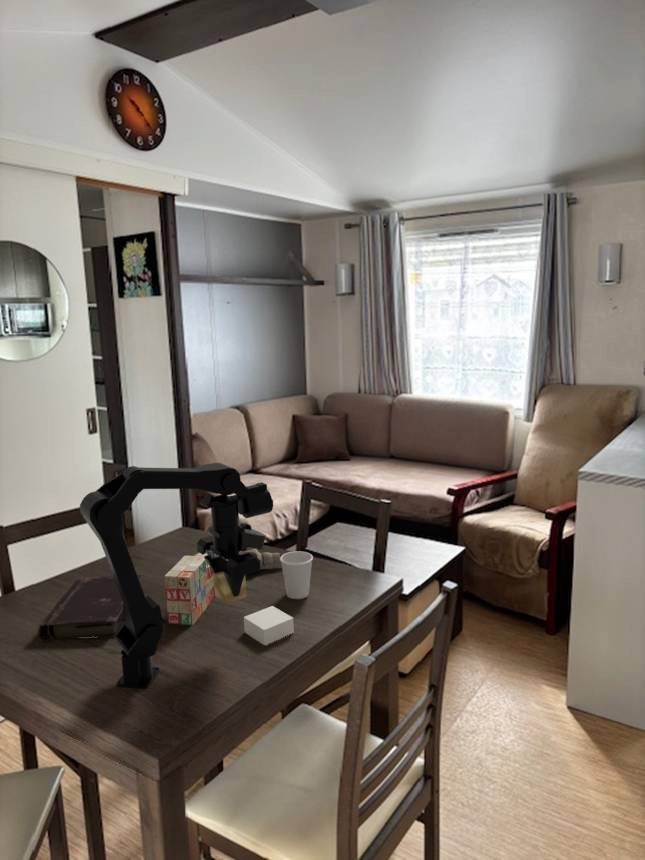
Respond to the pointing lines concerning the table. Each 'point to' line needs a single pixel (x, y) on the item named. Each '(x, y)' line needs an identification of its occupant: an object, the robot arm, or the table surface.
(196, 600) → the stack of blocks
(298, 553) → the dixie cup
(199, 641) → the table surface
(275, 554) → the decorative bottle
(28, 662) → the table surface
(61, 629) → the diary
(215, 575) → the mustard cube
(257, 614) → the ivory block
